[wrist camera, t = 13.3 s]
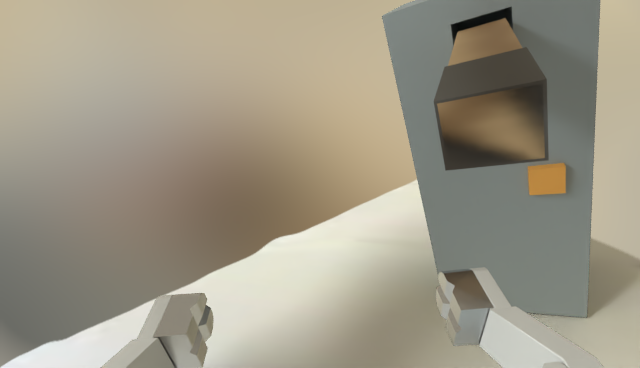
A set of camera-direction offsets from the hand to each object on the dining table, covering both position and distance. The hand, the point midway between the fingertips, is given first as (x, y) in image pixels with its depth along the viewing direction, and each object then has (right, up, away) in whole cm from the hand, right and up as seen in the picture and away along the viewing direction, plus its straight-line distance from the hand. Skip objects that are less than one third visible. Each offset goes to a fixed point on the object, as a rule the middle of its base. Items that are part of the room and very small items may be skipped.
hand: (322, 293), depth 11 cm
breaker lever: (+9, +9, +6) cm, 14 cm away
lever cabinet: (+22, -7, +27) cm, 36 cm away
